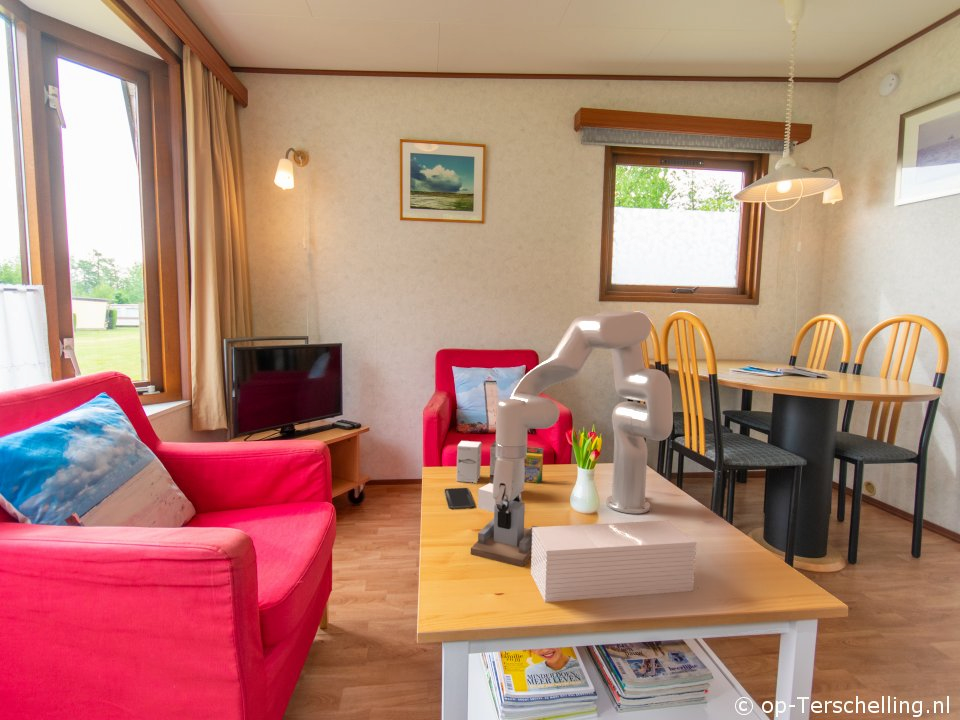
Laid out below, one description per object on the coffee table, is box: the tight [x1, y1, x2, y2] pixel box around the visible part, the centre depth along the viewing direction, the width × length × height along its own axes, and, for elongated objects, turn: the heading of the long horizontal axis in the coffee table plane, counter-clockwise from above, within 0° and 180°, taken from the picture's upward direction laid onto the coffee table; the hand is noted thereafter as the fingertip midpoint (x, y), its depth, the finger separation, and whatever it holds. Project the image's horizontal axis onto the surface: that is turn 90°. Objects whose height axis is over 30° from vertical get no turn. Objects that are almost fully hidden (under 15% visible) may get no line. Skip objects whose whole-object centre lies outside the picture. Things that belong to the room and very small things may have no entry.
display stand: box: [470, 518, 538, 568], centre depth 117 cm, size 16×13×4 cm
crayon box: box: [524, 446, 544, 484], centre depth 164 cm, size 7×3×12 cm, turn 77°
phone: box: [444, 487, 476, 510], centre depth 147 cm, size 8×1×15 cm
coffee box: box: [489, 439, 508, 499], centre depth 152 cm, size 9×6×16 cm
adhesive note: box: [477, 482, 506, 513], centre depth 141 cm, size 6×6×6 cm
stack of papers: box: [530, 519, 697, 603], centre depth 102 cm, size 32×11×11 cm, turn 99°
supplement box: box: [456, 440, 482, 484], centre depth 165 cm, size 7×7×13 cm
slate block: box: [493, 500, 526, 547], centre depth 117 cm, size 5×6×9 cm
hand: (509, 521), depth 117 cm, fingers open, 6 cm apart
